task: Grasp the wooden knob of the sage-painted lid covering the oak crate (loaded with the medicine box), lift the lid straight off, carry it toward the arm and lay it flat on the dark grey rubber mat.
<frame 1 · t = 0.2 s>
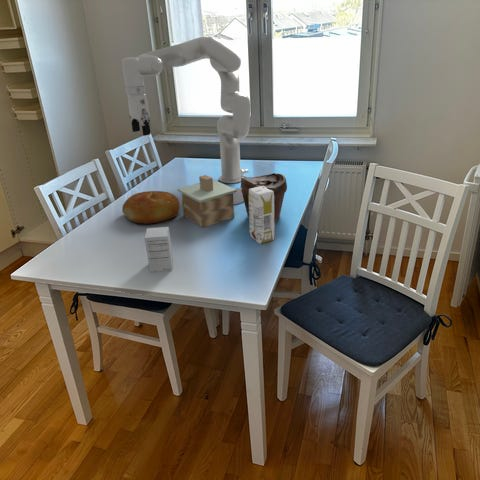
hand: (141, 133, 185), 31 cm above the table, fingers open, 9 cm apart
juice carton: (262, 239, 162), on the table
medicine box: (208, 217, 182), resting in crate
lid: (206, 191, 177), point 11 cm above the table, touching crate
brown plant pot: (264, 217, 180), on the table
crate: (208, 216, 182), on the table
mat: (234, 197, 201), on the table
supplement box: (161, 266, 147), on the table
bread: (153, 216, 186), on the table
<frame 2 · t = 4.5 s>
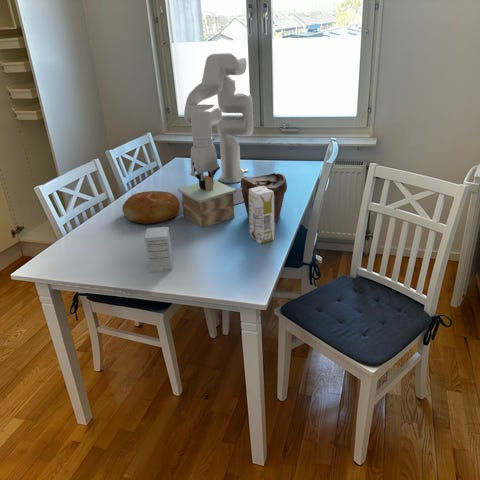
hand: (206, 187, 176), 13 cm above the table, fingers closed on lid, 3 cm apart
lid: (206, 191, 177), point 11 cm above the table, touching crate, gripper
everything else where it was.
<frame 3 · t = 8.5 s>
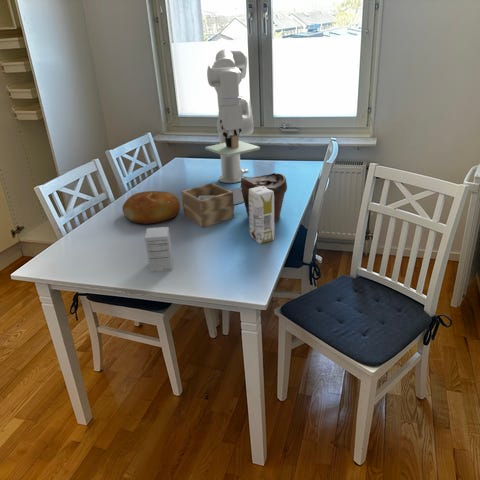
hand: (232, 145, 190), 24 cm above the table, fingers closed on lid, 3 cm apart
lid: (232, 149, 191), point 22 cm above the table, touching gripper
everything else where it was.
when the fingers open (4 cm above the table, at t = 12.6 s): lid drops 2 cm, resting on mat.
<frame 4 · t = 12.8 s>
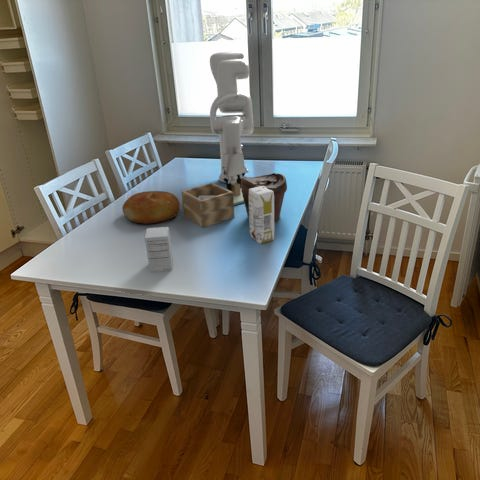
hand: (234, 188, 199), 4 cm above the table, fingers open, 4 cm apart
lid: (234, 196, 201), resting on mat
everything else where it was.
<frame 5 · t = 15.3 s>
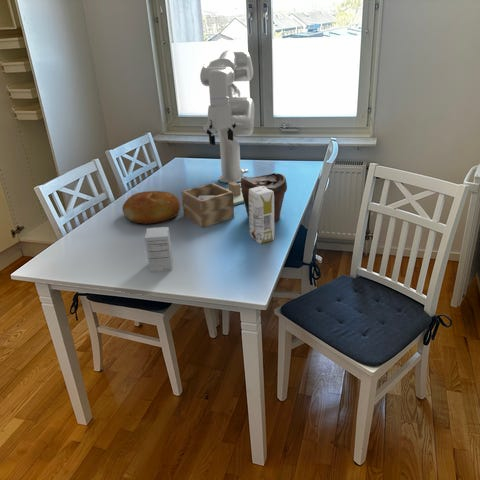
hand: (221, 142, 191), 25 cm above the table, fingers open, 9 cm apart
nothing on the table moved.
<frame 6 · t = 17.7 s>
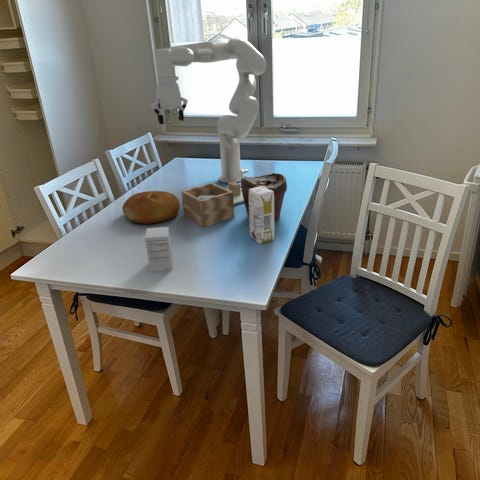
hand: (171, 122, 193), 33 cm above the table, fingers open, 9 cm apart
nothing on the table moved.
at the end: lid inside the target area (0.0 cm from its centre), resting on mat; lid tilted 0°; lid touching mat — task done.
